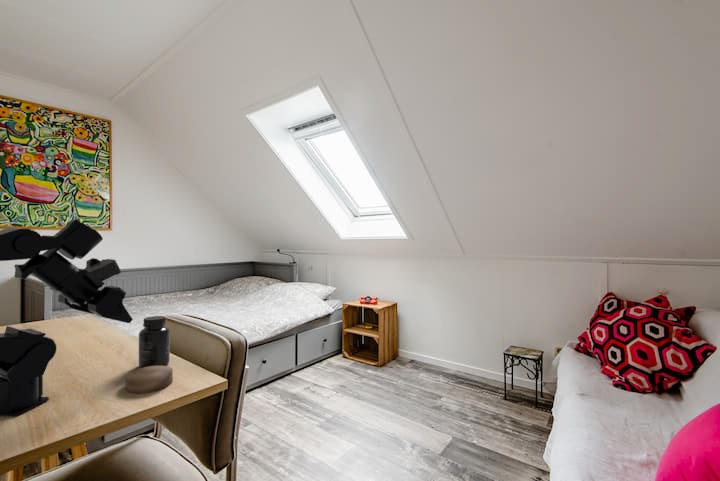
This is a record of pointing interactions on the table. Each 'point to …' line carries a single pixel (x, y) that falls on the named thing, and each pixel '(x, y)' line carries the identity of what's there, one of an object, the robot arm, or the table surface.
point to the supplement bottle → (154, 342)
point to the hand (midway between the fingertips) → (120, 318)
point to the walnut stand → (148, 379)
